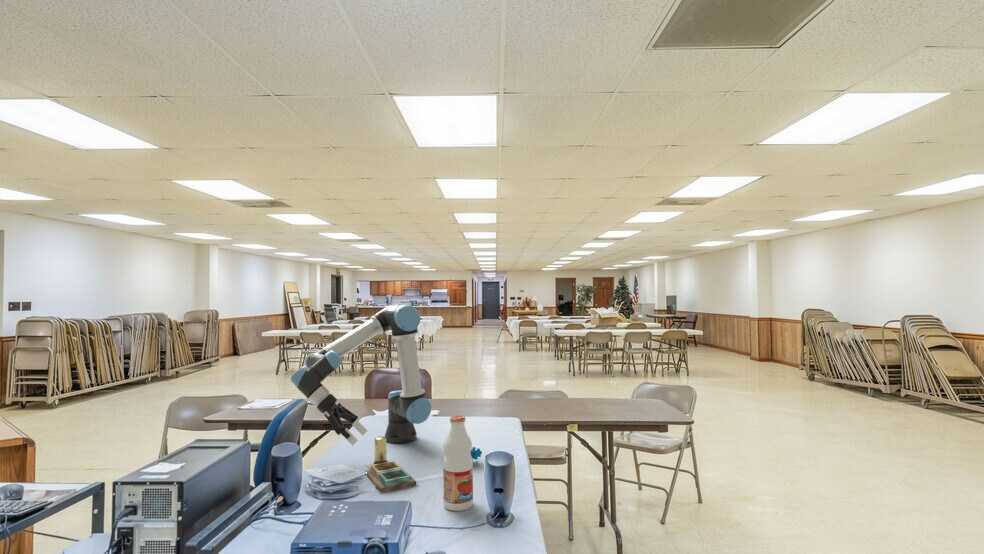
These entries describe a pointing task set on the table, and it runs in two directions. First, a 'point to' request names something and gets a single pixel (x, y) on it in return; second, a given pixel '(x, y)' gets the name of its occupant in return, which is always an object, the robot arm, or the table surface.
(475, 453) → the gear
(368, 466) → the mat
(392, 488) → the brown wooden flat tray
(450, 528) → the table surface
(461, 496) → the fruit juice
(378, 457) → the gold metal cylinder
